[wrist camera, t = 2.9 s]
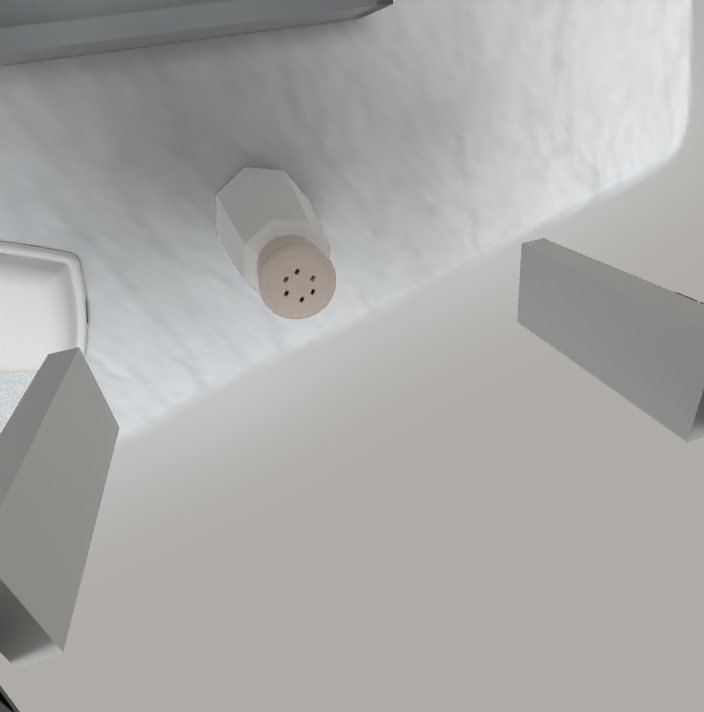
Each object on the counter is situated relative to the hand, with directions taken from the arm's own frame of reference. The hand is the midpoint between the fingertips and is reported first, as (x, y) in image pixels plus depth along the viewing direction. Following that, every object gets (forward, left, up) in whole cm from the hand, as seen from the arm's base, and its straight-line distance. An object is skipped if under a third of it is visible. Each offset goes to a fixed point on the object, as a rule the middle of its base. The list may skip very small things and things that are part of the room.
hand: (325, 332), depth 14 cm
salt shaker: (0, 0, -15) cm, 15 cm away
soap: (-15, -1, -15) cm, 21 cm away
